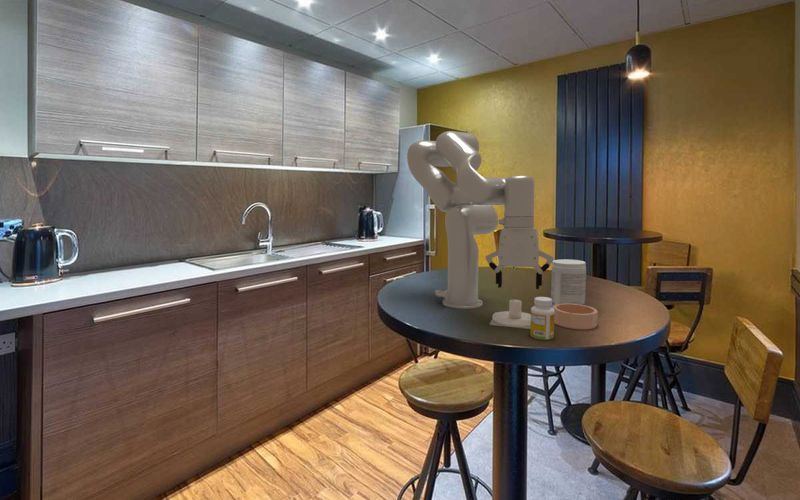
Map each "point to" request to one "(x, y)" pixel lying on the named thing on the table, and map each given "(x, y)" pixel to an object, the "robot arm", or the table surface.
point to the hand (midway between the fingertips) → (518, 287)
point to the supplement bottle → (542, 318)
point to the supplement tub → (568, 282)
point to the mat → (503, 325)
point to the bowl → (575, 316)
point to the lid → (513, 316)
